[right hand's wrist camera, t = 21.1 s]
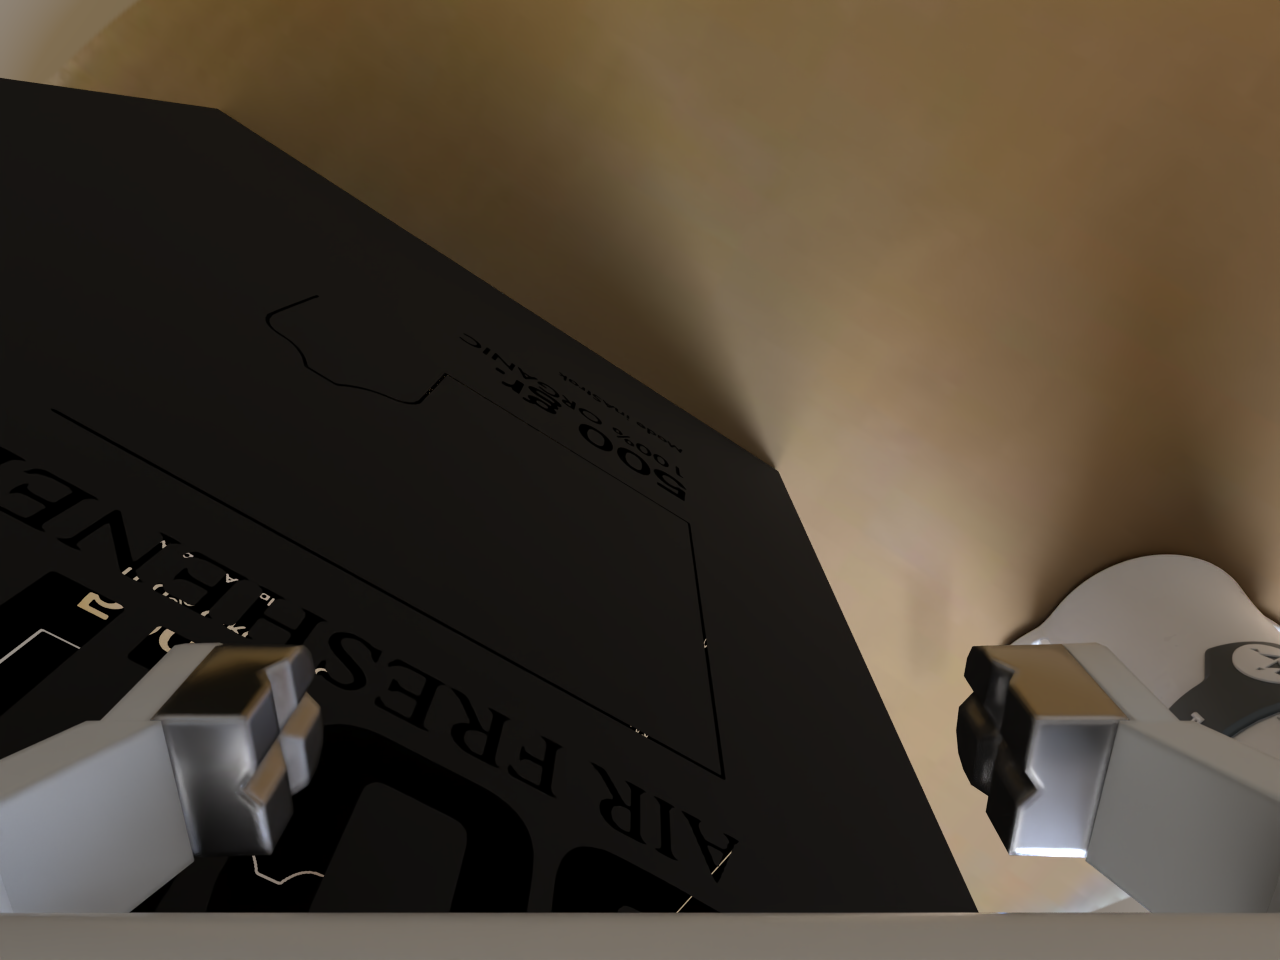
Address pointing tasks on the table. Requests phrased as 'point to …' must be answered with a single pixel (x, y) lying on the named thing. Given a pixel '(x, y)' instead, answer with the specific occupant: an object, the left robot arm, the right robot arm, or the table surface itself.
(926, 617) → the table surface
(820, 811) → the cardboard box
